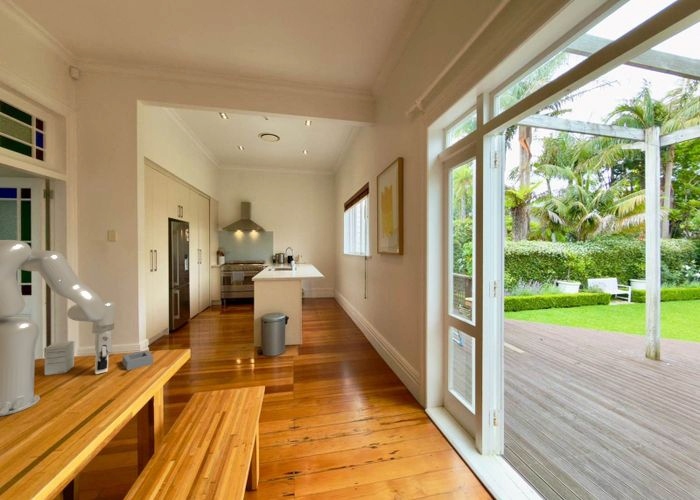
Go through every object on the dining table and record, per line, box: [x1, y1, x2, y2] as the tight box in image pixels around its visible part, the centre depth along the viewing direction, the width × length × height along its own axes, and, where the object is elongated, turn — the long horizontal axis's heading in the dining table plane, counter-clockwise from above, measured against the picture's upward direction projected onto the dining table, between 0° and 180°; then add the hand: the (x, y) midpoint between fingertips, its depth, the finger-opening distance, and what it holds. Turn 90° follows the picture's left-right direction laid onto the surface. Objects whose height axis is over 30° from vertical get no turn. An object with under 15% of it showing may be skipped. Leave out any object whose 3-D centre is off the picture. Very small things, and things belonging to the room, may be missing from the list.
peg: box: [94, 351, 110, 375], centre depth 121 cm, size 4×4×9 cm
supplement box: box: [44, 340, 76, 376], centre depth 122 cm, size 7×7×13 cm
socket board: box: [121, 349, 154, 371], centre depth 132 cm, size 12×10×4 cm
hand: (101, 367), depth 121 cm, fingers closed on peg, 4 cm apart
